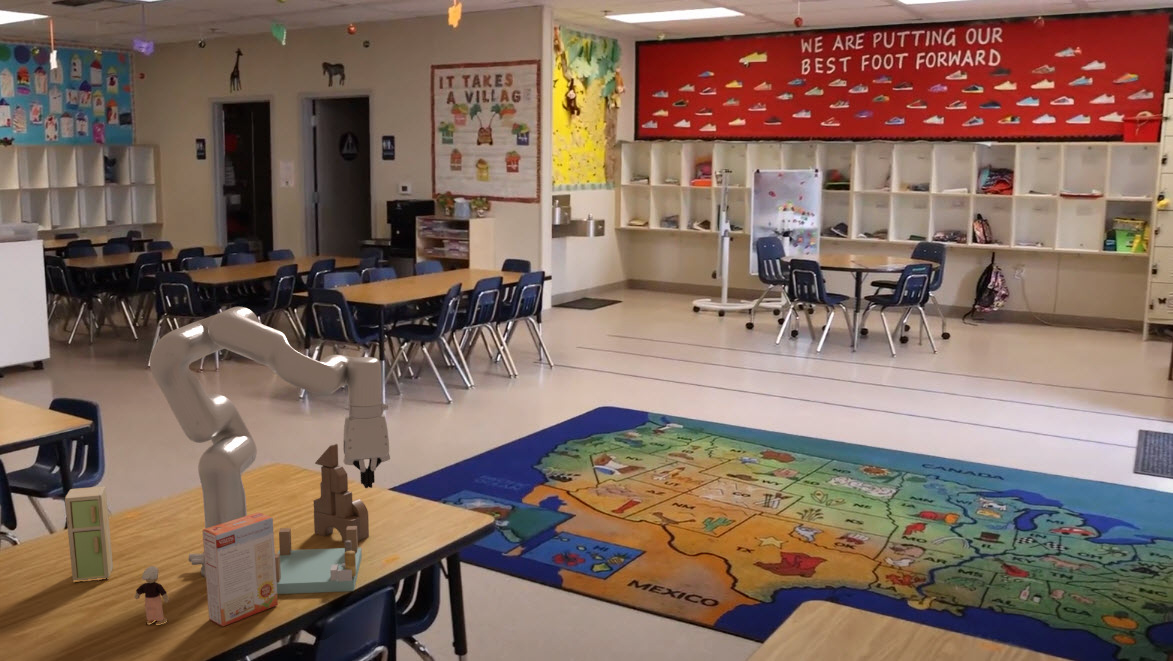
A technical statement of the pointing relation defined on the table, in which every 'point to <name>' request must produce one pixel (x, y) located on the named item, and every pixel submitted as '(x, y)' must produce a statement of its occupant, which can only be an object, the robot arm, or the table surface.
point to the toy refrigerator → (89, 533)
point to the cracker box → (240, 568)
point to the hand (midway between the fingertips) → (367, 486)
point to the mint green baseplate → (314, 566)
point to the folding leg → (350, 558)
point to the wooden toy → (337, 500)
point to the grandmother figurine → (152, 595)
